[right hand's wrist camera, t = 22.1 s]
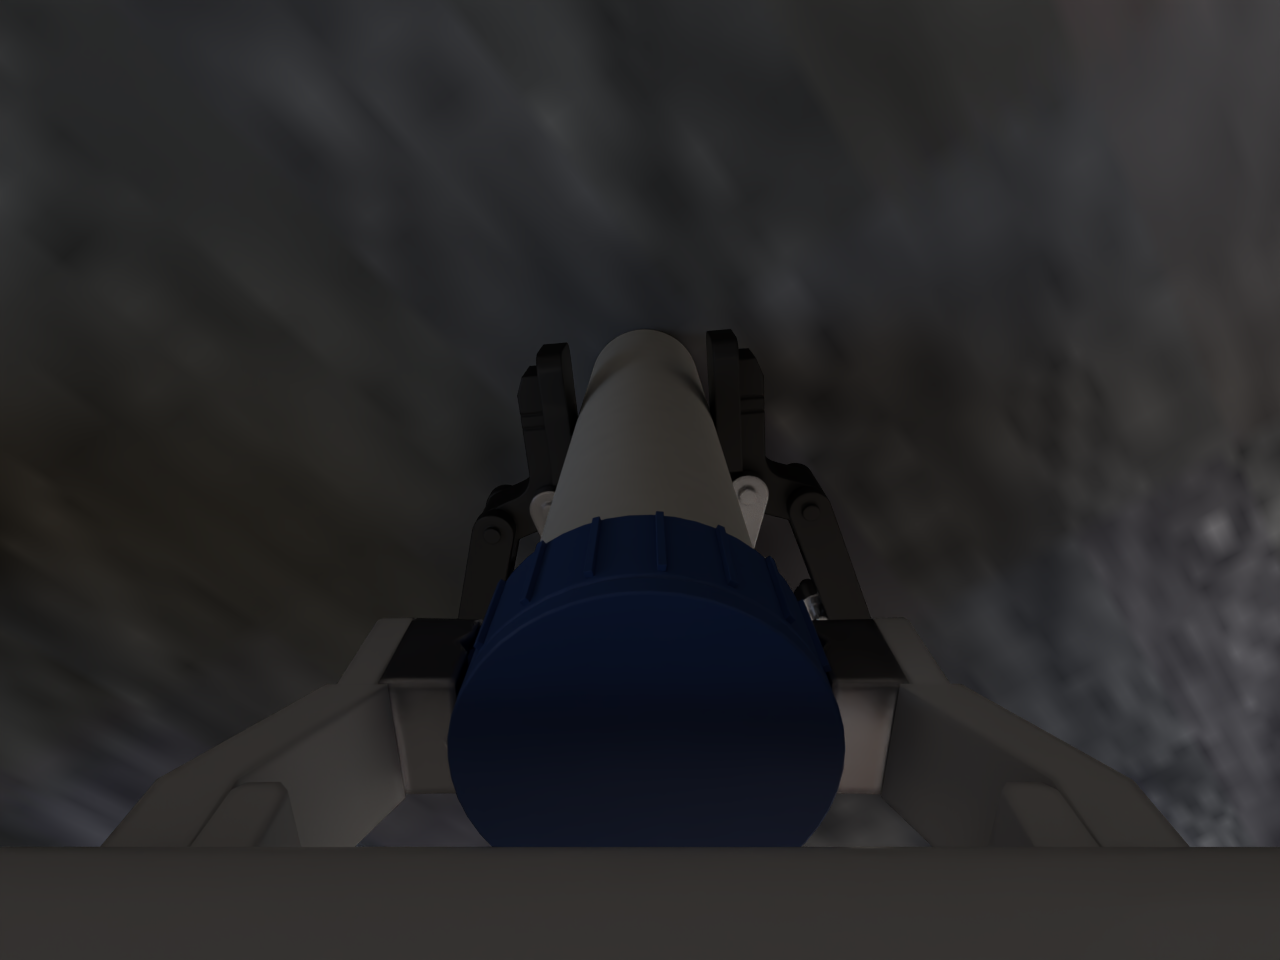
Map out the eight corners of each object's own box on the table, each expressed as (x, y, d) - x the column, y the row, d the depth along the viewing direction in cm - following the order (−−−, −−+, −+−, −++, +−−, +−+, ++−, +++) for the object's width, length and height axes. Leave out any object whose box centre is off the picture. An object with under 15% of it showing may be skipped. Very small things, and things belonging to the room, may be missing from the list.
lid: (815, 775, 11) (851, 896, 9) (508, 797, 12) (480, 920, 10) (811, 493, 10) (855, 569, 8) (448, 525, 10) (398, 608, 8)
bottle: (653, 306, 26) (674, 527, 8) (719, 391, 27) (860, 744, 9) (569, 374, 27) (426, 703, 9) (636, 453, 28) (623, 880, 10)
